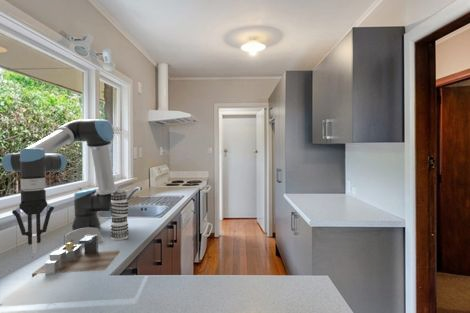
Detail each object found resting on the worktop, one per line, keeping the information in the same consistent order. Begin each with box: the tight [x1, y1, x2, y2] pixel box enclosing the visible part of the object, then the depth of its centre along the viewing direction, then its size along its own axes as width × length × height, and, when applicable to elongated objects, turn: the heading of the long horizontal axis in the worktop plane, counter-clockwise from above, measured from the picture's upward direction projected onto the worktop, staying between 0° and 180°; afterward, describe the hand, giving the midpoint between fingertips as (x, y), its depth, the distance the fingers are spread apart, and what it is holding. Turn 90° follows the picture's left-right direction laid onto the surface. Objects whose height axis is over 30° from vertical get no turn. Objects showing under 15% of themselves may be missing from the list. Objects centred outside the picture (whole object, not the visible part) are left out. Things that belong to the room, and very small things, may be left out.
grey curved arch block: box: [63, 227, 104, 248], centre depth 135 cm, size 17×5×10 cm, turn 136°
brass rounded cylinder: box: [66, 242, 74, 250], centre depth 118 cm, size 3×3×8 cm
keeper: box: [79, 234, 99, 254], centre depth 120 cm, size 8×5×9 cm, turn 6°
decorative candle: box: [109, 189, 129, 241], centre depth 148 cm, size 9×9×25 cm
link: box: [44, 244, 83, 276], centre depth 112 cm, size 19×7×6 cm, turn 7°
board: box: [31, 250, 121, 278], centre depth 115 cm, size 20×26×1 cm
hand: (34, 252), depth 105 cm, fingers closed
